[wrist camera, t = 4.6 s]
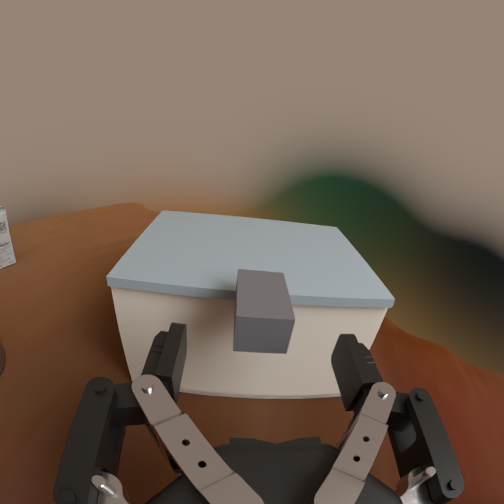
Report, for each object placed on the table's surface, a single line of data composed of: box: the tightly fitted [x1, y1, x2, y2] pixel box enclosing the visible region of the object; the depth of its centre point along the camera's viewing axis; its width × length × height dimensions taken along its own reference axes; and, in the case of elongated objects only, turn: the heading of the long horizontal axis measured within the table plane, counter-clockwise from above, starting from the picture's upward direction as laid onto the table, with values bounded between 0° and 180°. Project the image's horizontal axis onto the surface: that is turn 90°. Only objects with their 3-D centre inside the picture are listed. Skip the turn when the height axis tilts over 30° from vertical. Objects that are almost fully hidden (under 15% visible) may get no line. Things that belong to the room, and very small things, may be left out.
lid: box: [106, 211, 395, 354], centre depth 24 cm, size 22×22×2 cm
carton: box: [111, 287, 388, 399], centre depth 30 cm, size 22×16×12 cm
